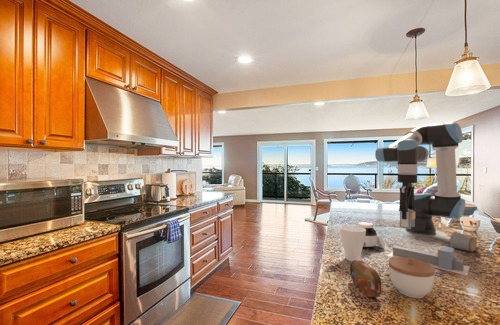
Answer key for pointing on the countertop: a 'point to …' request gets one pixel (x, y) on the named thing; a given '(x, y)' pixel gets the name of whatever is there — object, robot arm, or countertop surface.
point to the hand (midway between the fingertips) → (407, 225)
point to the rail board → (429, 259)
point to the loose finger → (411, 220)
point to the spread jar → (371, 236)
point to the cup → (353, 241)
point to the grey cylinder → (463, 242)
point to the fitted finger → (445, 257)
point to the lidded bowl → (411, 276)
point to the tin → (365, 278)
